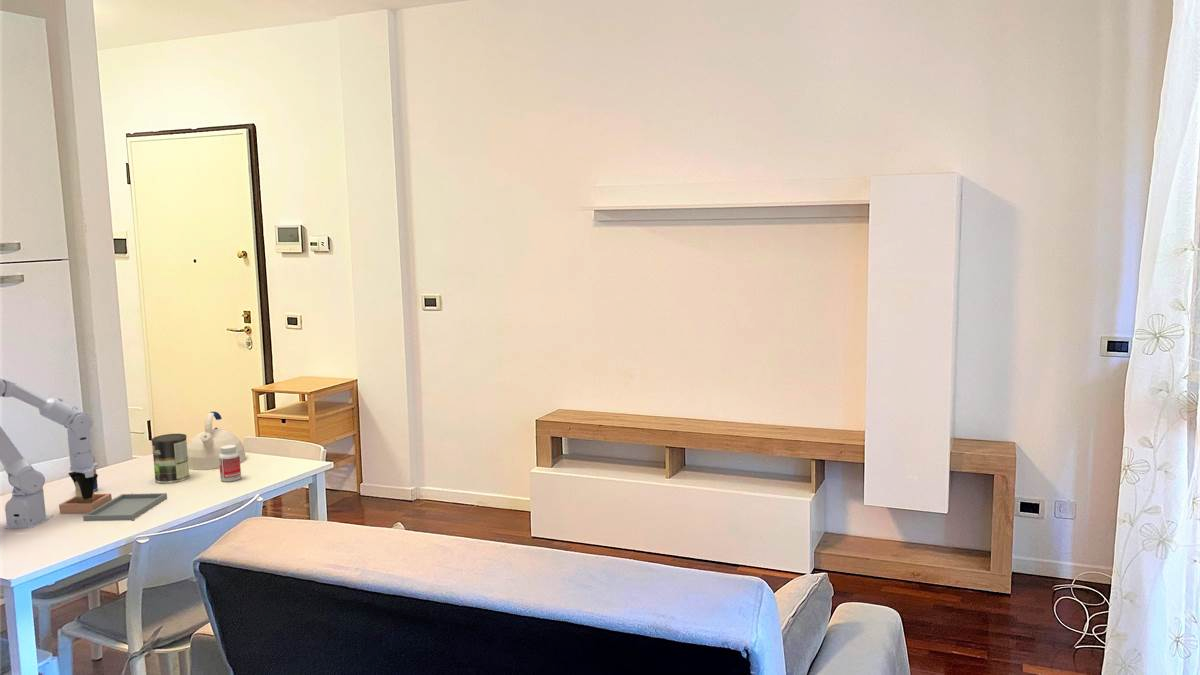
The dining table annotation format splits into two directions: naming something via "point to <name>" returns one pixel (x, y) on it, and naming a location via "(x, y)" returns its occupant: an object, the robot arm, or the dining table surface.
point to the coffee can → (170, 458)
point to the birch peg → (79, 495)
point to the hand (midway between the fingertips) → (85, 496)
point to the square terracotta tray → (84, 504)
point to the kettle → (211, 446)
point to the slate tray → (125, 507)
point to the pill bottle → (229, 464)
